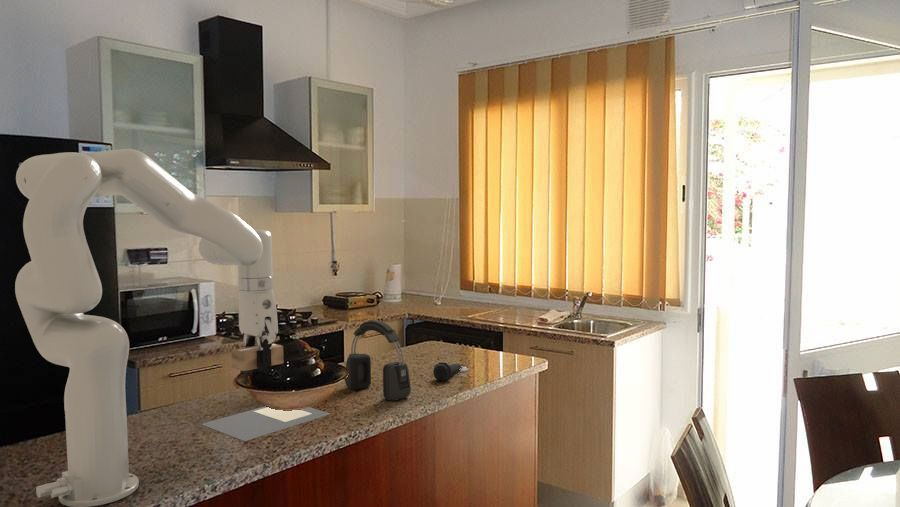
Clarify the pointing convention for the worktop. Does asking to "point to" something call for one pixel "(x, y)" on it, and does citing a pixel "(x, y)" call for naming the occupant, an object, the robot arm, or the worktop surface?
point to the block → (254, 357)
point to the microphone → (445, 371)
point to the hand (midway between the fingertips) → (258, 364)
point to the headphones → (393, 373)
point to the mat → (262, 421)
